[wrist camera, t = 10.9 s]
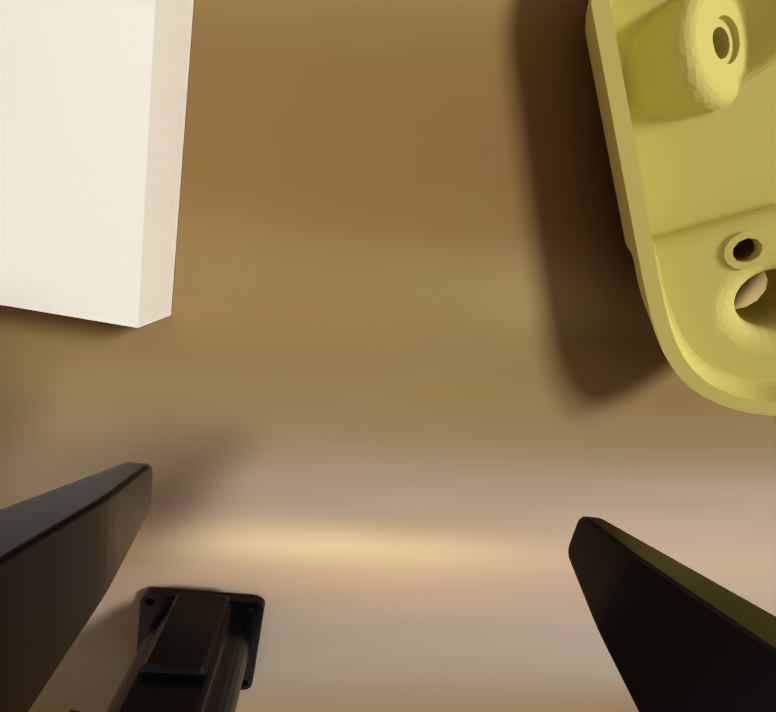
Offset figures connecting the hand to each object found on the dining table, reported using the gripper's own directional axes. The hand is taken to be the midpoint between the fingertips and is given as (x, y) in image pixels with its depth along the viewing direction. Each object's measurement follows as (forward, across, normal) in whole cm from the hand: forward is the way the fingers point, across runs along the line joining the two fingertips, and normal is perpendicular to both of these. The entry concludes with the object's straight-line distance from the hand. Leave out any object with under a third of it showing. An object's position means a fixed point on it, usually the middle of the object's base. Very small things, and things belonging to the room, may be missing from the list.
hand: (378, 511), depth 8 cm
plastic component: (+12, -14, -12) cm, 22 cm away
